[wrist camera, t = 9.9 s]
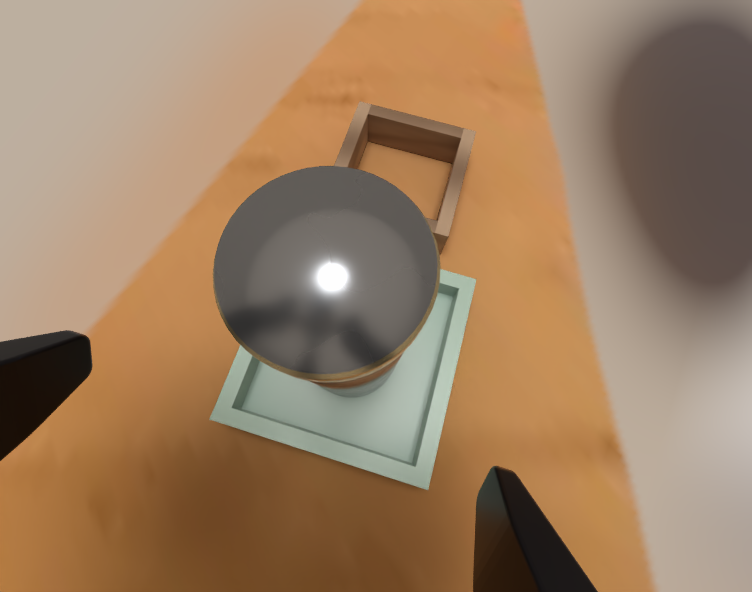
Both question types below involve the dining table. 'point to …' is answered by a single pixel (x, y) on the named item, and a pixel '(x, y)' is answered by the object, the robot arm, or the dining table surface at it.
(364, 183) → the grey cylindrical piece
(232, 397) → the tray
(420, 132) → the holder
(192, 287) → the dining table surface
